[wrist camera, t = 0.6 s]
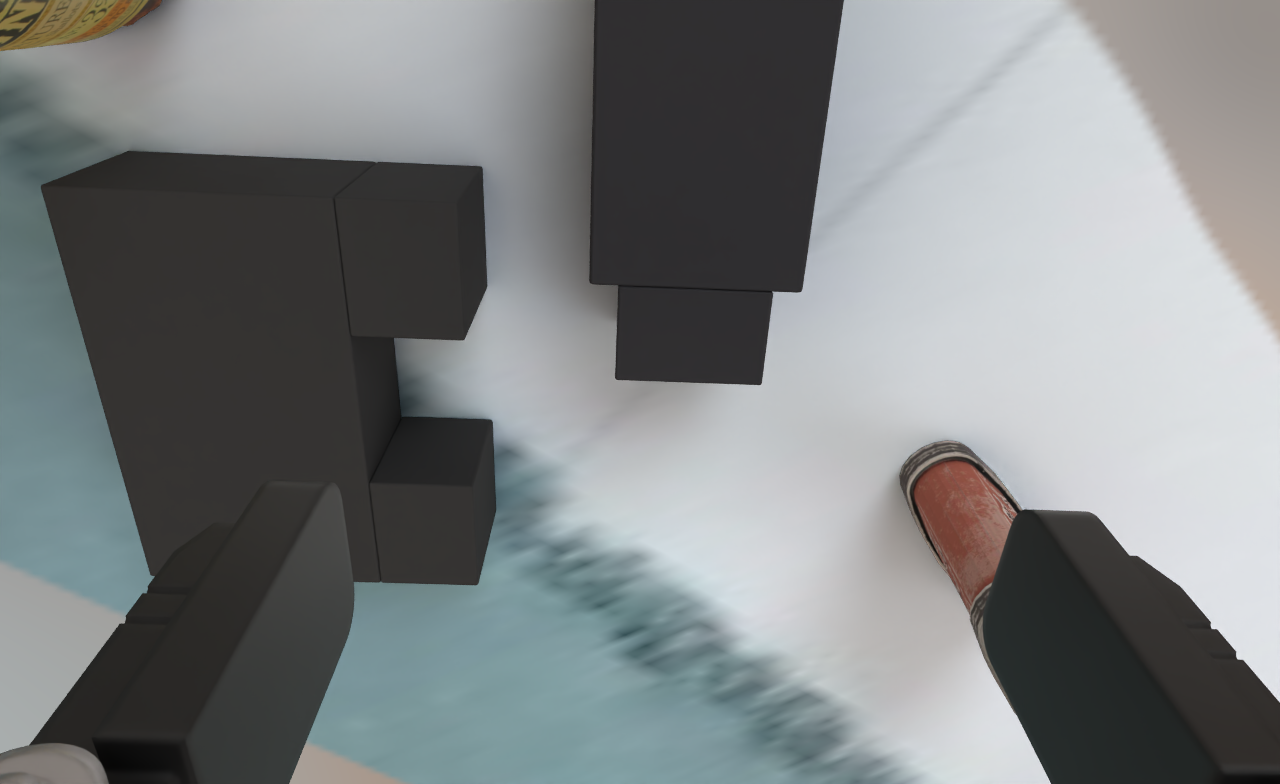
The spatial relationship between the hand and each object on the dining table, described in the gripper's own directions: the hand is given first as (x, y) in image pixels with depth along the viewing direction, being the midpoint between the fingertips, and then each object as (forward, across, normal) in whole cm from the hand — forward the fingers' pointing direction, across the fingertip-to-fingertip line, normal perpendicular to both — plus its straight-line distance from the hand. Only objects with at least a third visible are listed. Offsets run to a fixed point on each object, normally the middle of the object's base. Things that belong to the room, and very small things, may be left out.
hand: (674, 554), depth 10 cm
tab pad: (+16, -1, -2) cm, 16 cm away
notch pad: (+16, +10, +5) cm, 20 cm away
